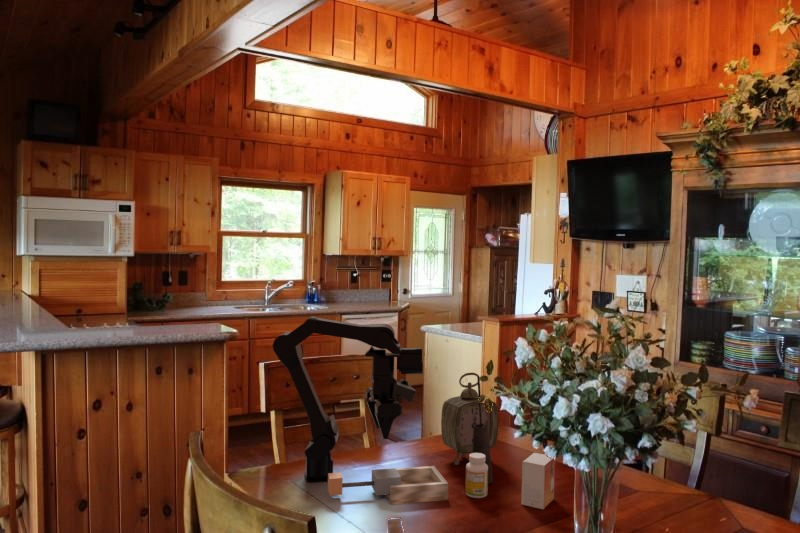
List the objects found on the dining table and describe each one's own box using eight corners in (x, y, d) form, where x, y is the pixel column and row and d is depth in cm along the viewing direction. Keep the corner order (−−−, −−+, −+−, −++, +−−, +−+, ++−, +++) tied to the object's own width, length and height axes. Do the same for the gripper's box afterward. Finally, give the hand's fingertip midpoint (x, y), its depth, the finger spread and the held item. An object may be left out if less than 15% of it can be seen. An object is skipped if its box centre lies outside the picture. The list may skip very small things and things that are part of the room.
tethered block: (330, 498, 148) (330, 480, 148) (327, 488, 154) (327, 471, 154) (400, 493, 152) (401, 475, 152) (395, 484, 158) (395, 467, 158)
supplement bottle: (474, 488, 159) (475, 450, 159) (491, 494, 155) (493, 455, 155) (460, 494, 156) (461, 455, 155) (478, 500, 152) (479, 460, 151)
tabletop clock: (454, 468, 173) (456, 377, 172) (437, 458, 181) (439, 371, 180) (497, 460, 180) (499, 373, 179) (479, 451, 188) (481, 367, 187)
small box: (543, 510, 147) (544, 465, 146) (520, 504, 150) (521, 461, 149) (554, 499, 154) (555, 456, 153) (532, 493, 157) (533, 451, 156)
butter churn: (485, 471, 171) (488, 368, 170) (509, 483, 163) (512, 375, 162) (458, 478, 166) (461, 372, 165) (482, 490, 158) (484, 379, 157)
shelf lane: (390, 504, 148) (391, 487, 148) (380, 485, 160) (380, 469, 160) (447, 499, 152) (448, 483, 152) (433, 481, 163) (434, 465, 163)
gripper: (422, 380, 156) (421, 443, 156) (405, 365, 174) (403, 421, 175) (378, 381, 153) (377, 445, 154) (365, 366, 171) (364, 423, 172)
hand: (382, 433), depth 164 cm, fingers open, 9 cm apart
